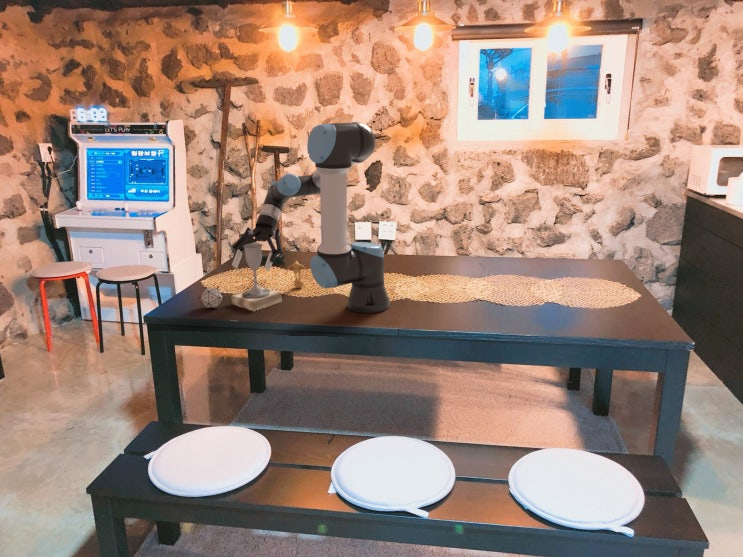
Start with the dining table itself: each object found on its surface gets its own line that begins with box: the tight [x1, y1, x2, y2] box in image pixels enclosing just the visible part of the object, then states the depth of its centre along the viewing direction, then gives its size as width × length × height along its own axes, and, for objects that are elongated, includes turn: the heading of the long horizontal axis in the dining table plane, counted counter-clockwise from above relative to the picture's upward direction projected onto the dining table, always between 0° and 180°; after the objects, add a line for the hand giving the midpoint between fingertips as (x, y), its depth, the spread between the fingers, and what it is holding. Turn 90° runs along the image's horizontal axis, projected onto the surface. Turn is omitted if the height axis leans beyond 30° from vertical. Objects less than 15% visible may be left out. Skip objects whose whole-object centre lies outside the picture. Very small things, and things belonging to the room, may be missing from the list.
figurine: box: [286, 260, 309, 289], centre depth 235 cm, size 8×6×12 cm
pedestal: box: [231, 286, 283, 312], centre depth 221 cm, size 13×13×4 cm
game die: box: [197, 286, 226, 310], centre depth 216 cm, size 9×8×10 cm
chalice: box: [243, 242, 263, 295], centre depth 217 cm, size 7×7×18 cm
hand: (250, 268), depth 215 cm, fingers open, 13 cm apart
